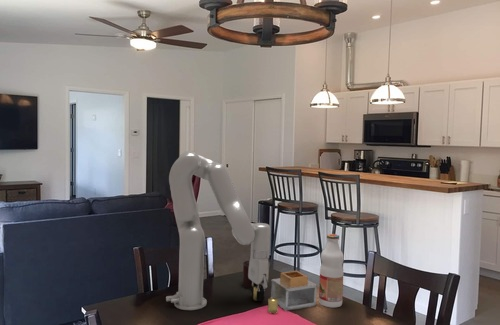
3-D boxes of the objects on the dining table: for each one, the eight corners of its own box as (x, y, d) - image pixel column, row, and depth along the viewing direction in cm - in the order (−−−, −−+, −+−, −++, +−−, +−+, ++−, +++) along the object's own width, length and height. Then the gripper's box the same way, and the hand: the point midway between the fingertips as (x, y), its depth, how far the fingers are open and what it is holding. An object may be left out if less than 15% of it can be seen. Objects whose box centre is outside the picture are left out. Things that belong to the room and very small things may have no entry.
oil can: (271, 292, 172) (273, 235, 171) (246, 293, 170) (248, 235, 169) (257, 272, 200) (259, 222, 199) (236, 273, 198) (237, 223, 197)
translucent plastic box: (285, 310, 153) (286, 281, 153) (270, 299, 164) (271, 272, 164) (316, 305, 159) (317, 277, 159) (299, 295, 170) (300, 268, 170)
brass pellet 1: (255, 301, 160) (256, 289, 160) (251, 298, 164) (252, 286, 163) (263, 300, 162) (264, 288, 162) (259, 297, 165) (260, 285, 165)
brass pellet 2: (270, 314, 150) (271, 301, 149) (266, 310, 153) (266, 297, 153) (279, 313, 151) (279, 300, 151) (274, 309, 154) (275, 296, 154)
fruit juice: (337, 310, 156) (340, 238, 154) (315, 304, 161) (317, 235, 160) (345, 302, 163) (348, 234, 162) (324, 297, 169) (326, 231, 167)
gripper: (243, 249, 168) (241, 292, 169) (260, 260, 153) (258, 307, 154) (259, 248, 171) (257, 290, 172) (277, 258, 156) (275, 305, 157)
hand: (257, 298), depth 163 cm, fingers closed on brass pellet 1, 3 cm apart
